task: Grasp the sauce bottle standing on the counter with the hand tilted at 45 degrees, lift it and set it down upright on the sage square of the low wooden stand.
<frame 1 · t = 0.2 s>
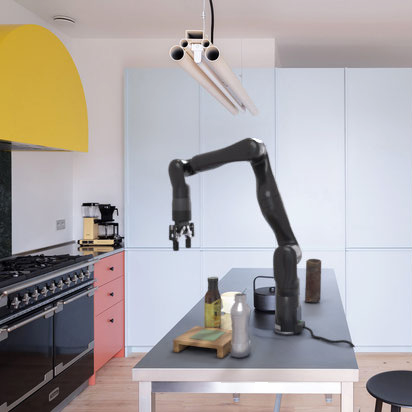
hand: (182, 249, 167), 29 cm above the table, tool pointing down, fingers open, 8 cm apart
plastic bottle: (240, 356, 134), on the table
sauce bottle: (212, 329, 158), on the table
rusty brown cylinder: (312, 302, 196), on the table
wooden stand: (208, 346, 141), on the table
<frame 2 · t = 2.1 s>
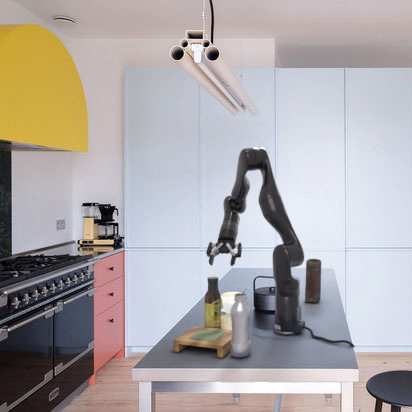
hand: (221, 264, 169), 23 cm above the table, tool tilted 45°, fingers open, 8 cm apart
nothing on the table moved.
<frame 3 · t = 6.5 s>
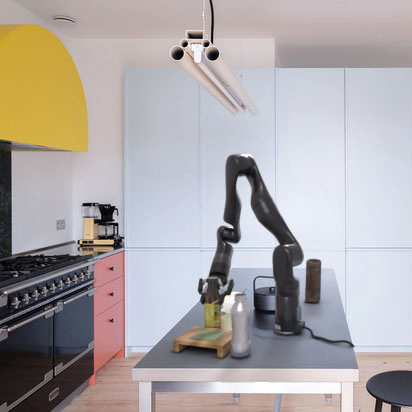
hand: (211, 303, 156), 10 cm above the table, tool tilted 45°, fingers closed on sauce bottle, 6 cm apart
sauce bottle: (212, 329, 158), on the table, touching gripper
everything else where it was.
when the fingers open (15 cm above the table, at t = 15.8 s): sauce bottle stays where it is, resting on wooden stand.
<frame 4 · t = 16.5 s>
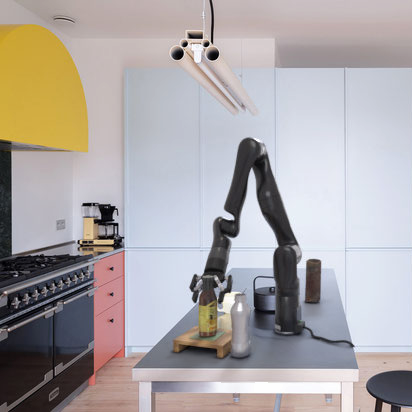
hand: (206, 302, 139), 16 cm above the table, tool tilted 45°, fingers open, 8 cm apart
sauce bottle: (208, 335, 141), point 4 cm above the table, touching wooden stand
everything else where it was.
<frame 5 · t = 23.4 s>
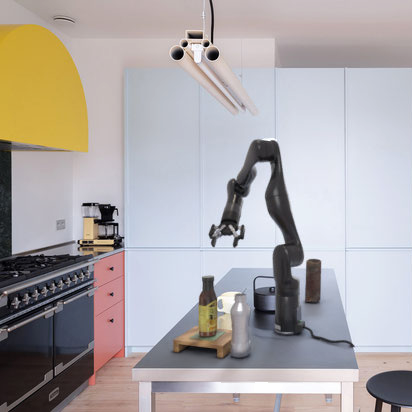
hand: (223, 246, 165), 31 cm above the table, tool tilted 45°, fingers open, 8 cm apart
nothing on the table moved.
at the end: sauce bottle 0.2 cm off-centre on the wooden stand, point 4.0 cm above the wooden stand's base; sauce bottle tilted 0°; the gripper is holding nothing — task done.
